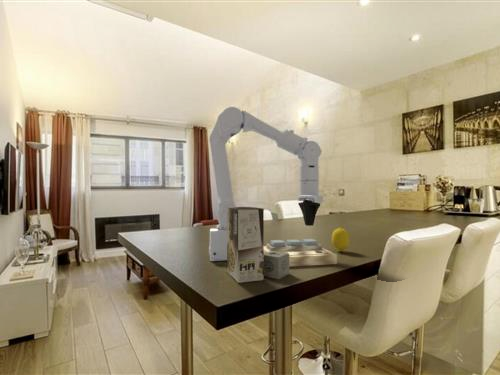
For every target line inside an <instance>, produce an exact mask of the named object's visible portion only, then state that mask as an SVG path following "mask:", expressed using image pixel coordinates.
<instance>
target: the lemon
mask: <svg viewBox="0 0 500 375" xmlns="http://www.w3.org/2000/svg"><path fill="white" fill-rule="evenodd" d="M331 243H332V246H333V247H334V248H335V249H336V250H338V251H339V252H340V253H341V252H343V251H344V250H346V249H347V248H348V247H349V245H350V235H349V232H348V231H347V230H346V229H345V228H343V227H338V228H336V229H334V230H333V232H332V235H331Z"/></svg>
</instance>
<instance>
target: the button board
mask: <svg viewBox="0 0 500 375" xmlns="http://www.w3.org/2000/svg"><path fill="white" fill-rule="evenodd" d="M269 251H277V252H284V253H289V267H303V266H304V267H305V266H306V267H307V266H322V265H323V266H324V265H337V264H338V254H336V253H334V252H332V251H330V250H328V249H326V248H323V245H321V244H319V243H317V245H314V246H305V245H303V244H302V246H288V245H286V247H272V246H271V243H266V245H264V253H266V252H269Z"/></svg>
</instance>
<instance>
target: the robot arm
mask: <svg viewBox="0 0 500 375" xmlns="http://www.w3.org/2000/svg"><path fill="white" fill-rule="evenodd" d="M216 119H217V120H216V122H215V124H214V127H213V129H212V131H211V133H210V135H209V145H210V152H211V159H212V164H213V166H212V167H213V172H214V179H215V186H216V192H217V199H218V200H217V202H218V213H217V217H216V219H217V222H218V224H217V225H216V227H215V228H212V227H211V228H210V229H209V246H208V254H209V261H211V262H216V261H217V262H218V261H219V262H221V261H227V208H235V207H236V205H235V201H234V200H235V199H234V194H233V188H232V182H231V181H232V180H231V174H230V173H231V172H230V168H229V167H230V166H229V162H228V154H227V147H226V145H227V143H228V142H229V141H230V140H231V139H232V137H234V136H237V134H239V133H240V132H241V131H242V133H247V132H252V131H253V132H254V133H256V134H259V135H261V136H263V137H266V138H269V139H270V140H272V141H274V142H275V143H276V146H277V147H278V148H280V149H281V150H284V151H286V152H288V153H290V154H293V155H294V156H297V158H298V160H299V194H297V201H298V207H299V208H300V210H301V213H302V218H303V221H304V225H305V226H307V227H308V226H310V227H311V226H314V224H315V220H316V219H315V218H316V216H317V212H318V210H319V208H320V207H321V203H323V202H324V199H323V198H324V195H322V194H321V195H320V191H319V187H320V186H319V182H320V181H319V178H320V177H319V174H320V173H319V171H320V170H319V168H320V166H319V158H320V156H321V154H322V151H323V150H322V149H321V146H320V145H319V144H318V142H316V141H313V140H308V138H307V137H302V136H301V135H298V134H296V133H295V130H292V129H289V130H288V129H284V130H279V129H277V128H276V127H274V126H272V125H270V124H268V123H267V122H265V121H264V120H261V119H259V118H258V117H256V116H255V115H252V114H251V113H249V112H247V111H246V110H243V109H242V110H241V109H239V108H238V107H235V106H229V107H226V108H225V109H223V111H222V112H221V113H220V114H219V115H218V116H217V118H216Z"/></svg>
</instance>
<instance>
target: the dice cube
mask: <svg viewBox="0 0 500 375" xmlns="http://www.w3.org/2000/svg"><path fill="white" fill-rule="evenodd" d="M287 275H290V266H289V253H284V252H277V251H269V252H266V253H264V277H266V278H272V279H276V280H280V279H282V278H285V277H286V276H287Z"/></svg>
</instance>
